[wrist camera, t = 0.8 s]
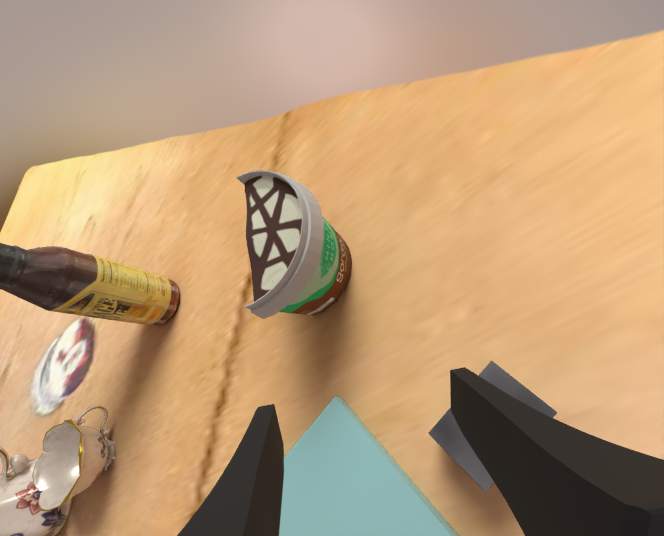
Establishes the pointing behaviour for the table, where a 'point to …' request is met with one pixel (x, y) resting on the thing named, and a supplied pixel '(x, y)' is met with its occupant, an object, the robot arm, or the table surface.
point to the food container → (291, 248)
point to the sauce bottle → (86, 285)
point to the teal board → (350, 485)
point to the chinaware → (52, 478)
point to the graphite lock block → (457, 444)
